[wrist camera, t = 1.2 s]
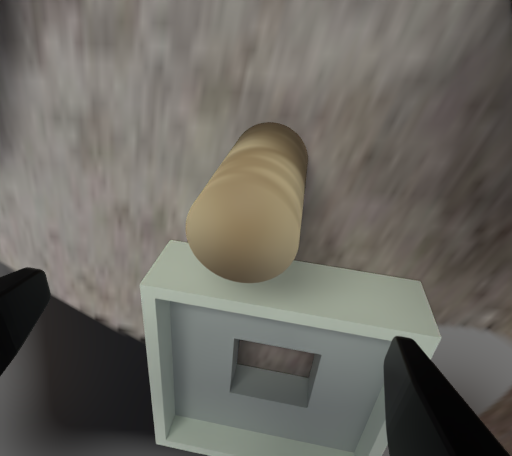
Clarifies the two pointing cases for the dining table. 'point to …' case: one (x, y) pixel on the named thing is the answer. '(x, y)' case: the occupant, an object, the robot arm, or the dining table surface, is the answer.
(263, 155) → the peg
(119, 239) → the dining table surface
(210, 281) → the caddy
